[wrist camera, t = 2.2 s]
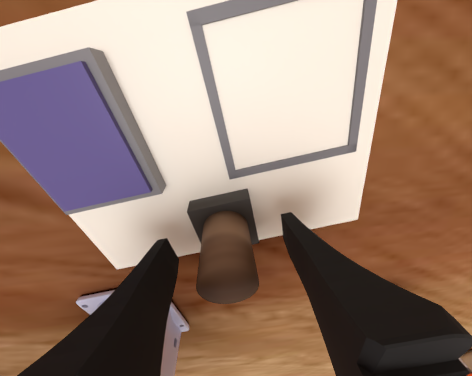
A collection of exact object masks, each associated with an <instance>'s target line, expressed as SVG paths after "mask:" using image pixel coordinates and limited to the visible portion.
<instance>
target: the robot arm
mask: <svg viewBox="0 0 472 376" xmlns="http://www.w3.org/2000/svg"><path fill="white" fill-rule="evenodd" d="M281 221H282V231H283V239H284V242H285V245H286V247H287V250H288V253H289V255H290V258H291V260H292V262H293V264H294V266H295V268H296V270H297V273H298V275H299V277H300V279H301V281H302V283H303V285H304V288H305V290H306V292H307V295H308V297H309V300H310V302H311V305H312V308H313V311H314V313H315V316H316V319H317V322H318V324H319V327H320V330H321V333H322V336H323V339H324V341H325V344H326V347H327V350H328V353H329V356H330V359H331V362H332V365H333V368H334V371H335V374H336V376H467V375H468V374H470V373H469V371H468V369H467V368H466V367H465V366H464V365H463V363H462V362H461V361H460V360H459V358H460V357H461V356H462V355H463V354H464V353H466V352H467V351H468V350H469V349H470V348H471V347H472V336H471V335H470V334H469V333H468V332H467V331H466V330H465V329H464V328H463V327H462V325H461V324H460V323H459V322H458V321H457V320H456V319H455V318H454V317H453V316H452V315H450V314H449V313H448V312H447V311H446V310H445V309H444V308H443V307H442V306H440V305H438V304H436V303H433V302H431V301H429V300H427V299H425V298H422V297H420V296H418V295H416V294H413V293H411V292H409V291H407V290H405V289H403V288H401V287H399V286H397V285H395V284H393V283H391V282H389V281H387V280H385V279H383V278H381V277H379V276H378V275H376V274H374V273H372V272H370V271H369V270H367V269H365V268H363V267H362V266H360V265H358V264H357V263H355V262H353V261H352V260H350V259H349V258H347V257H346V256H344V255H343V254H341V253H340V252H338V251H337V250H335V249H334V248H333V247H331V246H330V245H329V244H327V243H326V242H325V241H323V240H322V239H321V238H319V237H318V236H317V235H316V234H315V233H313V232H312V231H311V230H310V229H309V228H308V227H306V226H305V225H304V224H303V223H302V222H301V221H300V220H299V219H298V218H297V217H296V216H295V215H294V214H293V213H291V212H289V213H284V214H281ZM178 264H179V258H178V257H177V255H176V253H175V251H174V250H173V248H172V246H171V244H170V243H169V241H168V239H167V238H165V239H160V240H157V241H156V242H155V243H154V245H153V246H152V247H151V248H150V250H149V251H148V252H147V253H146V255H145V256H144V257H143V258H142V259H141V261H140V262H139V263H138V264H137V266H136V267H135V268H134V269H133V270H132V272H131V273H130V274H129V275H128V276H127V277H126V278H125V280H124V281H123V282H122V283H121V284H120V285H119V286H118V288H117V289H116V290H112V291H107V292H102V293H97V294H92V295H87V296H82V297H79V298H78V299H77V301H76V304H77V305H78V306H80V307H81V308H82V309H83V310H85V311H86V312H87V313H89V314H90V316H89V317H87V318H86V319H85V320H84V321H83V322H82V323H81V324H80V325H79V326H78V327H77V328H75V329H74V330H73V331H72V332H71V333H70V334H69V335H67V336H66V337H65V338H64V339H63V340H62V341H60V342H59V343H58V344H57V345H56V346H54V347H53V348H52V349H51V350H49V351H48V352H47V353H46V354H44V355H43V356H42V357H41V358H39V359H38V360H37V361H36V362H34V363H33V364H32V365H30V366H29V367H28V368H26V369H25V370H24V371H23V372H21V373H20V374H19V375H17V376H174V375H175V369H176V362H177V356H178V349H179V343H180V337H181V332H185V331H188V330H189V325H188V323H187V322H186V320H185V319H184V318H183V316H182V315H181V314H180V312H179V311H178V310H177V308H176V307H175V306H174V304H173V303H172V302H171V301H172V297H173V292H174V288H175V284H176V279H177V274H178Z"/></svg>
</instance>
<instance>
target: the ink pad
mask: <svg viewBox="0 0 472 376" xmlns="http://www.w3.org/2000/svg"><path fill="white" fill-rule="evenodd" d="M0 141H1V142H2V143H3V145H4V146H5V147H6V148H7V149H8V150H9V151H10V152H11V153H12V155H13V156H14V157H15V158H16V159H17V160H18V161H19V162H20V164H21V165H22V166H23V167H24V168H25V169H26V170H27V171H28V173H29V174H30V175H31V176H32V177H33V178H34V179H35V180H36V182H37V183H38V184H39V185H40V186H41V187H42V188H43V189H44V190H45V192H46V193H47V194H48V195H49V196H50V197H51V198H52V199H53V201H54V202H55V203H56V204H57V205H58V206H59V207H60V208H61V210H62V211H63V212H64V213H65V214H66V215H69V214H73V213H78V212H82V211H87V210H91V209H96V208H100V207H105V206H109V205H114V204H118V203H123V202H127V201H132V200H136V199H141V198H145V197H150V196H154V195H159V194H162V193H163V191H164V189H165V187H166V183H165V181H164V179H163V177H162V175H161V173H160V171H159V169H158V166H157V164H156V162H155V160H154V158H153V156H152V154H151V152H150V149H149V147H148V145H147V143H146V141H145V139H144V137H143V135H142V133H141V130H140V128H139V126H138V124H137V122H136V120H135V118H134V116H133V114H132V111H131V109H130V107H129V105H128V103H127V101H126V99H125V97H124V95H123V92H122V90H121V88H120V86H119V84H118V82H117V80H116V78H115V75H114V73H113V71H112V69H111V67H110V65H109V63H108V61H107V59H106V56H105V54H104V52H103V51H101V50H97V49H94V48H90V47H87V48H84V49H80V50H76V51H72V52H68V53H64V54H61V55H57V56H53V57H49V58H45V59H41V60H38V61H34V62H30V63H26V64H22V65H18V66H15V67H11V68H7V69H3V70H0Z"/></svg>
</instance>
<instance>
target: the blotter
mask: <svg viewBox="0 0 472 376" xmlns="http://www.w3.org/2000/svg"><path fill="white" fill-rule="evenodd" d="M396 5H397V0H98V1H94V2H90V3H87V4H83V5H79V6H76V7H72V8H68V9H64V10H61V11H57V12H53V13H50V14H46V15H42V16H39V17H35V18H31V19H28V20H24V21H20V22H16V23H13V24H9V25H5V26H2V27H0V70H3V69H7V68H11V67H15V66H18V65H22V64H26V63H30V62H34V61H38V60H41V59H45V58H49V57H53V56H57V55H61V54H64V53H68V52H72V51H76V50H80V49H84V48H87V47H90V48H94V49H97V50H101V51H103V52H104V54H105V56H106V59H107V61H108V63H109V65H110V67H111V69H112V71H113V73H114V75H115V78H116V80H117V82H118V84H119V86H120V88H121V90H122V92H123V95H124V97H125V99H126V101H127V103H128V105H129V107H130V109H131V111H132V114H133V116H134V118H135V120H136V122H137V124H138V126H139V128H140V130H141V133H142V135H143V137H144V139H145V141H146V143H147V145H148V147H149V149H150V152H151V154H152V156H153V158H154V160H155V162H156V164H157V166H158V169H159V171H160V173H161V175H162V177H163V179H164V181H165V183H166V187H165V189H164V191H163V193H162V194H159V195H154V196H150V197H145V198H141V199H136V200H132V201H127V202H123V203H118V204H114V205H109V206H105V207H100V208H96V209H91V210H87V211H82V212H78V213H73V214H69V216H70V217H71V218H72V219H73V220H74V221H75V222H76V224H77V225H78V226H79V227H80V228H81V229H82V230H83V232H84V233H85V234H86V235H87V236H88V237H89V238H90V239H91V241H92V242H93V243H94V244H95V245H96V246H97V247H98V249H99V250H100V251H101V252H102V253H103V254H104V255H105V256H106V258H107V259H108V260H109V261H110V262H111V263H112V264H113V266H114V267H115V268H116V269H122V268H126V267H131V266H136V265H137V264H138V263H139V262H140V261H141V259H142V258H143V257H144V256H145V255H146V253H147V252H148V251H149V250H150V248H151V247H152V246H153V245H154V243H155V242H156V241H157V240H160V239H165V238H167V239H168V241H169V243H170V244H171V246H172V248H173V250H174V251H175V253H176V255H177V257H179V256H184V255H189V254H194V253H199V252H200V250H201V243H200V241H199V238H198V236H197V234H196V232H195V229H194V227H193V225H192V223H191V220H190V218H189V216H188V214H187V209H188V205H189V201H192V200H196V199H201V198H205V197H210V196H215V195H219V194H224V193H228V192H233V191H237V190H242V189H246V188H248V192H249V196H250V200H251V205H252V210H253V215H254V220H255V225H256V230H257V234H258V239H259V240H261V239H266V238H271V237H276V236H281V235H283V231H282V221H281V214H284V213H289V212H291V213H293V214H294V215H295V216H296V217H297V218H298V219H299V220H300V221H301V222H302V223H303V224H304V225H305V226H306V227H308V228H309V229H314V228H319V227H324V226H329V225H334V224H339V223H343V222H348V221H353V220H358V215H359V209H360V204H361V198H362V193H363V187H364V182H365V176H366V171H367V165H368V160H369V154H370V149H371V143H372V137H373V132H374V126H375V121H376V115H377V110H378V104H379V99H380V93H381V88H382V82H383V77H384V71H385V65H386V60H387V54H388V49H389V43H390V38H391V32H392V27H393V21H394V16H395V10H396Z"/></svg>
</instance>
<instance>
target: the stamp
mask: <svg viewBox="0 0 472 376" xmlns="http://www.w3.org/2000/svg"><path fill="white" fill-rule="evenodd" d="M187 214H188V216H189V218H190V220H191V223H192V225H193V227H194V229H195V232H196V234H197V236H198V238H199V241H200V243H201V250H200V258H199V267H198V275H197V284H196V289H197V292H198V294H199V295H200V296H201V297H202V298H204V299H205V300H207V301H210V302H213V303H219V304H230V303H236V302H240V301H243V300H245V299H247V298H249V297H251V296H252V295H253V294H254V293H255V292H256V291H257V289H258V287H259V280H258V274H257V269H256V264H255V259H254V254H253V249H252V244H257V243H259V239H258V234H257V230H256V225H255V220H254V215H253V210H252V205H251V200H250V196H249V192H248V188H246V189H242V190H237V191H233V192H228V193H224V194H219V195H215V196H210V197H205V198H201V199H196V200H192V201H189V205H188V209H187Z"/></svg>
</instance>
